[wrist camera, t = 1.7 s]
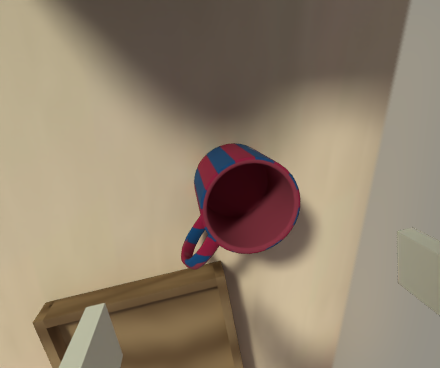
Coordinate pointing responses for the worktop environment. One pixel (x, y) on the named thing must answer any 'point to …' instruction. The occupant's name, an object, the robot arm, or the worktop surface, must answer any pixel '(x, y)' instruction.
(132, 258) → the worktop surface
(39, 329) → the tray
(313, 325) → the worktop surface
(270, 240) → the mug
